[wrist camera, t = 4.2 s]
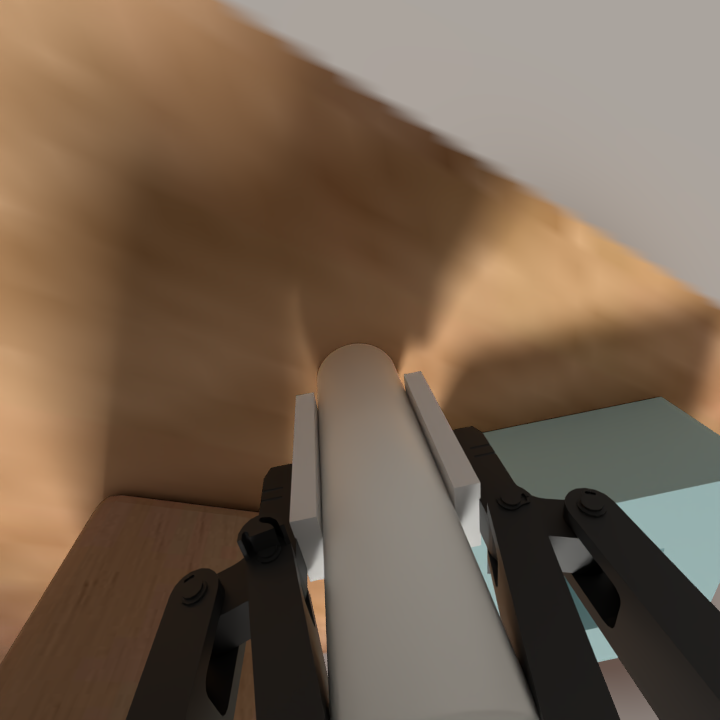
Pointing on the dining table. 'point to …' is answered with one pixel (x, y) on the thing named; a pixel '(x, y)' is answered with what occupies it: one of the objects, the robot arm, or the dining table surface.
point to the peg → (401, 565)
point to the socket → (627, 481)
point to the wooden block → (115, 609)
